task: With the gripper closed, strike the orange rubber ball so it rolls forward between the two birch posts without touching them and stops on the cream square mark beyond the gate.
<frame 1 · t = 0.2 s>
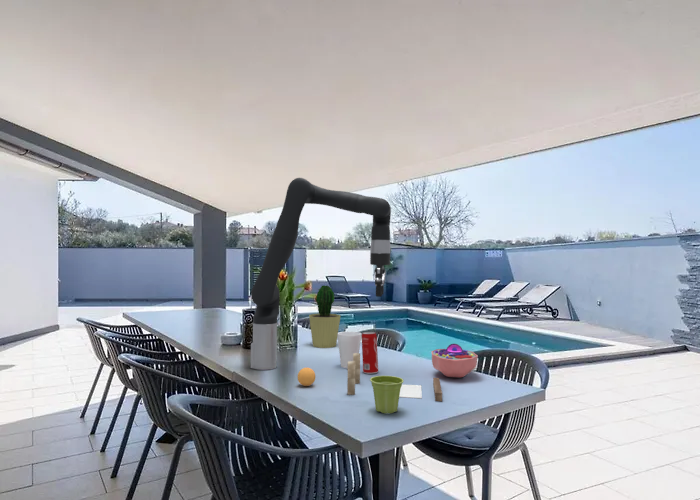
hand: (379, 295, 173), 29 cm above the table, tool pointing down, fingers open, 8 cm apart
beverage can: (369, 373, 173), on the table
foam cup: (349, 367, 182), on the table
post 1: (351, 394, 145), on the table
ball: (306, 376, 154), on the table
post 2: (356, 383, 158), on the table
plant pot: (386, 411, 130), on the table
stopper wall: (437, 392, 147), on the table
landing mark: (399, 390, 149), on the table
cell model: (453, 376, 169), on the table
potted cactus: (324, 346, 224), on the table
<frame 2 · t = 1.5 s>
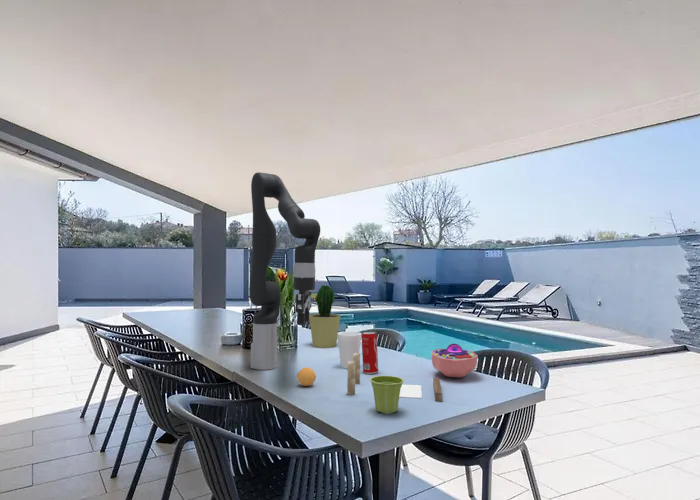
hand: (303, 322, 159), 20 cm above the table, tool pointing down, fingers open, 8 cm apart
nothing on the table moved.
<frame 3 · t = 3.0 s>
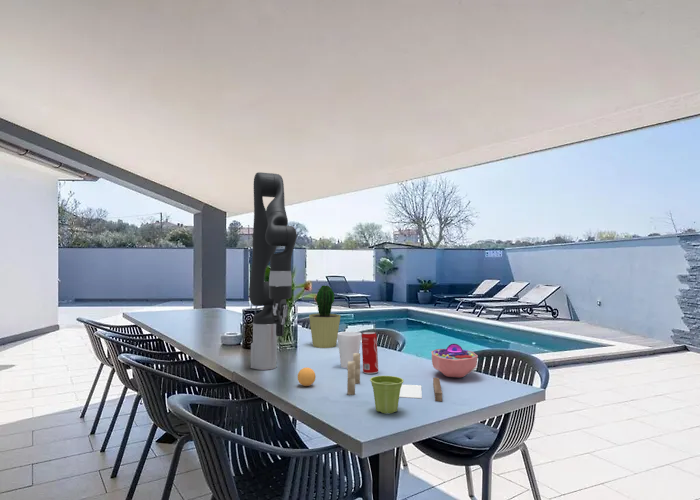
hand: (279, 335, 155), 16 cm above the table, tool pointing down, fingers closed
nothing on the table moved.
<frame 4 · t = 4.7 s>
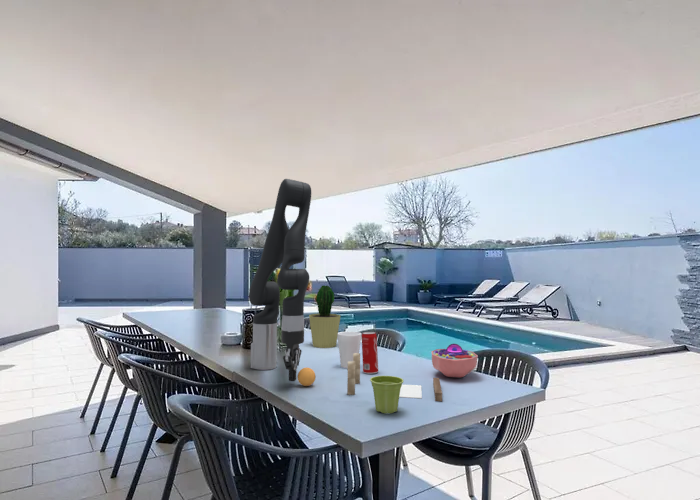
hand: (292, 380, 153), 2 cm above the table, tool pointing down, fingers closed
nothing on the table moved.
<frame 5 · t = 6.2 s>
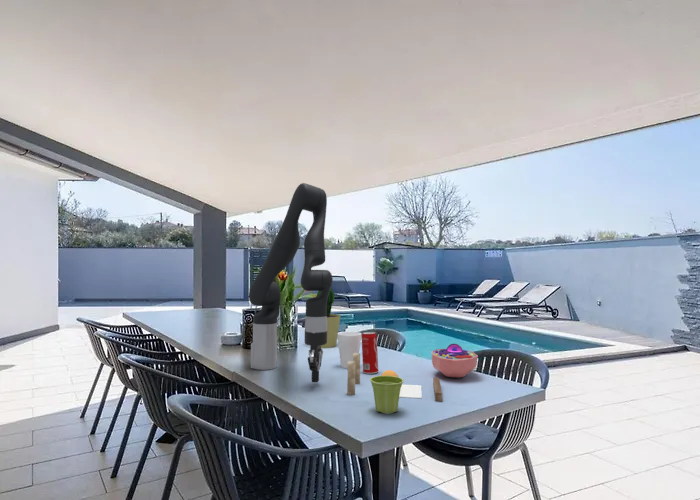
hand: (315, 381, 153), 2 cm above the table, tool pointing down, fingers closed
ball: (389, 379, 151), on the table
everything else where it was.
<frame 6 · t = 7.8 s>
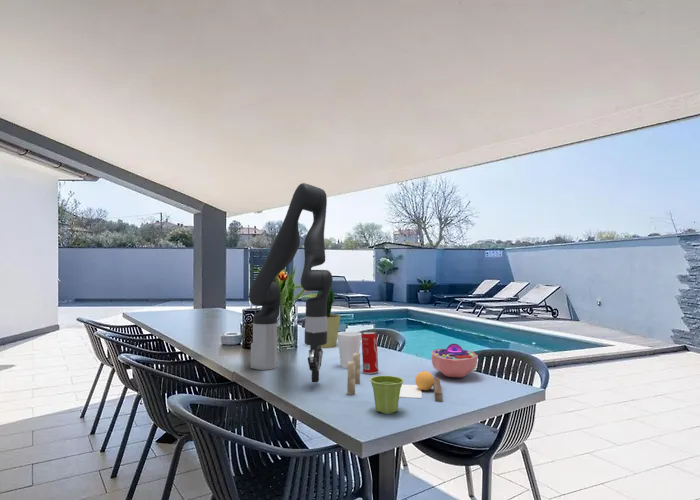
hand: (315, 381, 153), 2 cm above the table, tool pointing down, fingers closed
ball: (424, 380, 151), on the table
everything else where it was.
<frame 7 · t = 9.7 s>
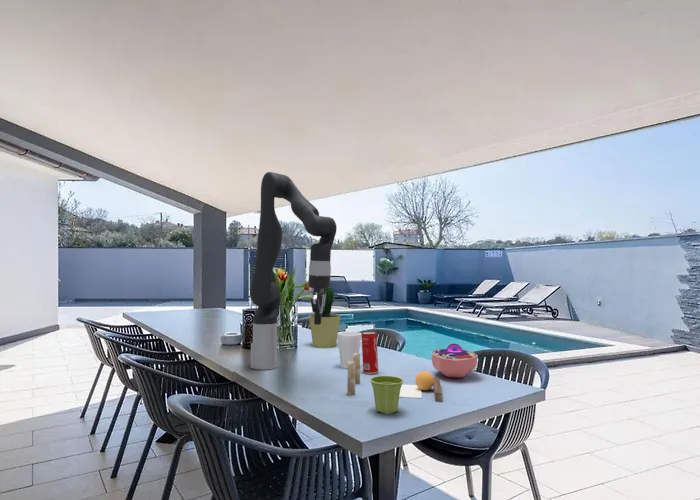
hand: (317, 324, 159), 20 cm above the table, tool pointing down, fingers closed
nothing on the table moved.
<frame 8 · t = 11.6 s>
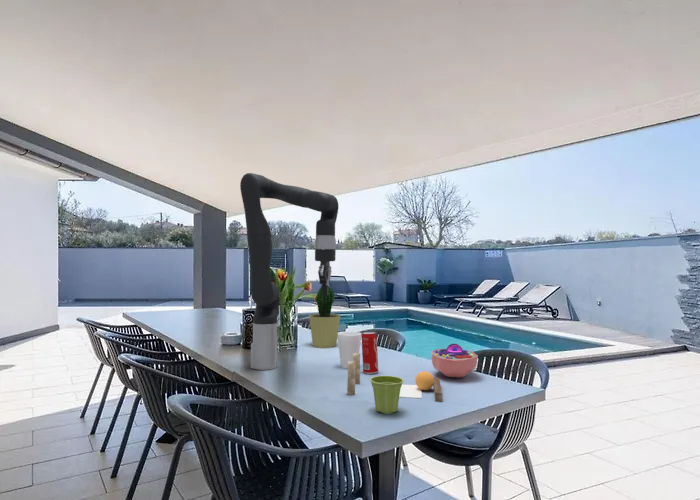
hand: (324, 295, 168), 29 cm above the table, tool pointing down, fingers closed
nothing on the table moved.
at the end: ball 8.4 cm from the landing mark (horizontally); ball never touched post 2; ball never touched post 1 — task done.
